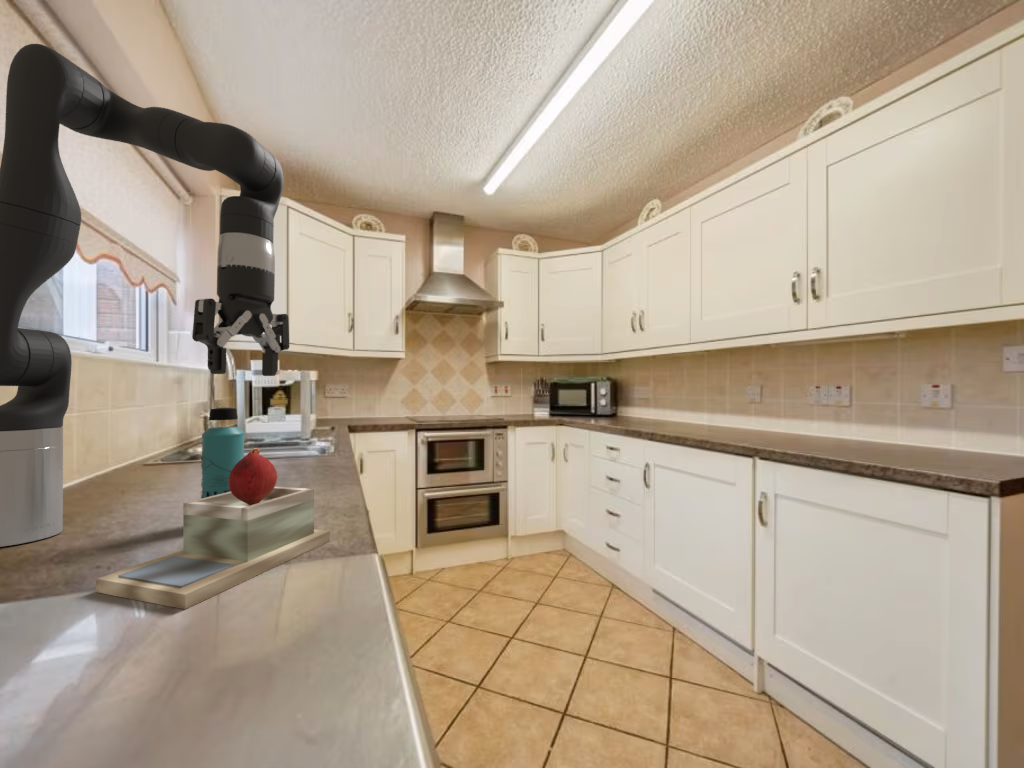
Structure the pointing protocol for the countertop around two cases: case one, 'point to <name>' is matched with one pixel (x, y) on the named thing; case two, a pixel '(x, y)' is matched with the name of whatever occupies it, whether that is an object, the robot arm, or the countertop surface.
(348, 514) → the countertop surface
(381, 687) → the countertop surface
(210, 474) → the beverage bottle
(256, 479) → the onion
